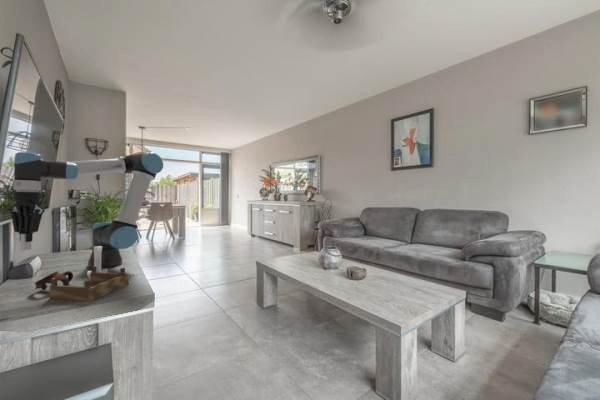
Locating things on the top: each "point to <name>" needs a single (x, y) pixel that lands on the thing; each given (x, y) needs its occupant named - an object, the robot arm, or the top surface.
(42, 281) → the broken pottery fragment
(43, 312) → the top surface
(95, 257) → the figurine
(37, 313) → the top surface
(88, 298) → the brown wooden tray
